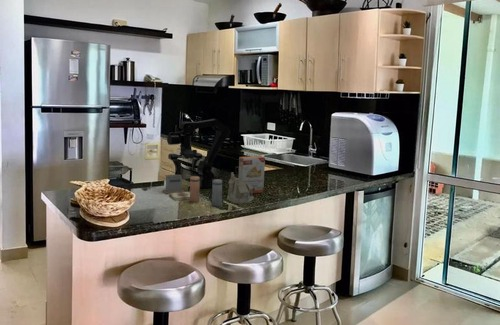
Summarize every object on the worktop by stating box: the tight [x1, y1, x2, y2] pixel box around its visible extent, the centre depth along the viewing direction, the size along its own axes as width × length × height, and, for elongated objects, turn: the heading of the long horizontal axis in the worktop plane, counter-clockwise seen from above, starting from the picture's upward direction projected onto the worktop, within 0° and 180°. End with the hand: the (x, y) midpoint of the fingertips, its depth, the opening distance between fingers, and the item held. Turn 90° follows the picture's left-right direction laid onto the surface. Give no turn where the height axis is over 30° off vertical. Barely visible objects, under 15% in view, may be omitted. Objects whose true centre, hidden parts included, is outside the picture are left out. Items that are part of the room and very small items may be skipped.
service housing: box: [162, 174, 186, 195], centre depth 254 cm, size 11×7×10 cm, turn 117°
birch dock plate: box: [168, 191, 190, 202], centre depth 243 cm, size 12×11×2 cm
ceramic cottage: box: [226, 171, 255, 205], centre depth 243 cm, size 16×16×15 cm
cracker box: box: [237, 155, 266, 195], centre depth 258 cm, size 14×6×21 cm, turn 117°
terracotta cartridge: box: [189, 175, 201, 204], centre depth 235 cm, size 5×5×13 cm
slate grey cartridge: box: [211, 178, 223, 207], centre depth 229 cm, size 5×5×13 cm
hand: (185, 171), depth 260 cm, fingers open, 9 cm apart
